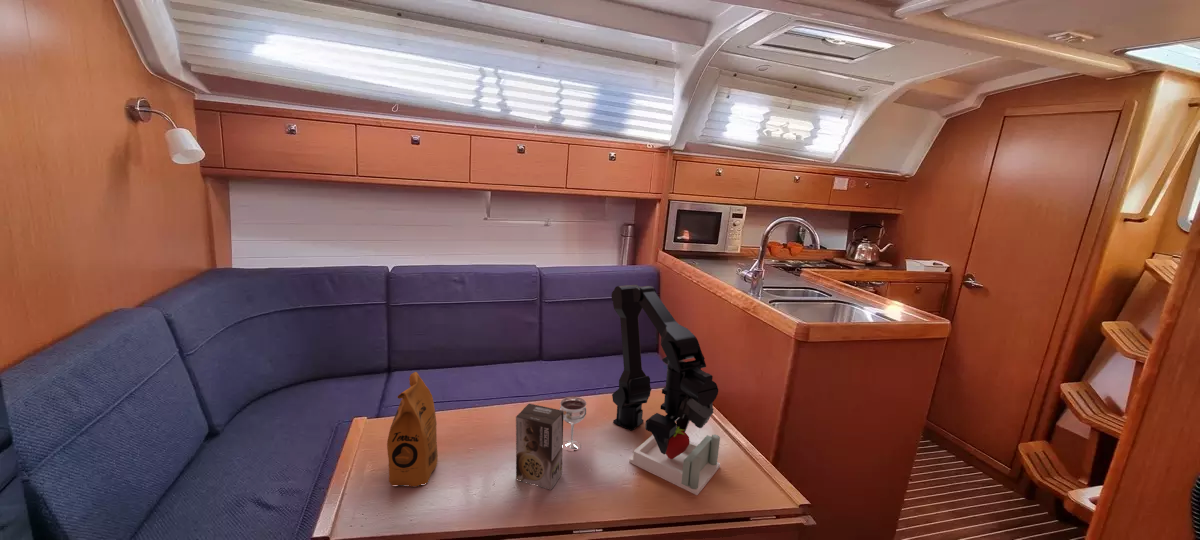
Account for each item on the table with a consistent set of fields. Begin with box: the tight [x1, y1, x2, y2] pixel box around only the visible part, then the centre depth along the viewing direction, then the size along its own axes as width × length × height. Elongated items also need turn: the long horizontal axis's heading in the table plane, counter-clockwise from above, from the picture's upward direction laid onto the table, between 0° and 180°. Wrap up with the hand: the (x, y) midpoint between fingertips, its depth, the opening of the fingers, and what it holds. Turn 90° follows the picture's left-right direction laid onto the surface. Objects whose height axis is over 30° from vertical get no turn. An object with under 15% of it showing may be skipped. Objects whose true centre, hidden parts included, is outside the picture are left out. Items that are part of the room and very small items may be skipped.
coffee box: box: [515, 403, 564, 491], centre depth 102 cm, size 9×6×16 cm
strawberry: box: [666, 427, 691, 459], centre depth 109 cm, size 6×8×10 cm
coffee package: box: [386, 371, 439, 487], centre depth 101 cm, size 10×12×22 cm
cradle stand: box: [628, 434, 721, 496], centre depth 109 cm, size 18×13×8 cm
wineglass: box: [559, 396, 587, 449], centre depth 114 cm, size 7×7×12 cm
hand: (672, 444), depth 110 cm, fingers open, 9 cm apart
